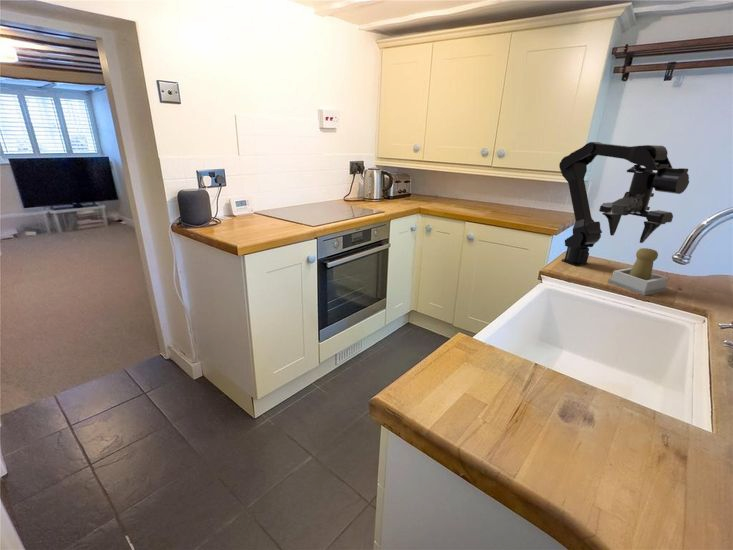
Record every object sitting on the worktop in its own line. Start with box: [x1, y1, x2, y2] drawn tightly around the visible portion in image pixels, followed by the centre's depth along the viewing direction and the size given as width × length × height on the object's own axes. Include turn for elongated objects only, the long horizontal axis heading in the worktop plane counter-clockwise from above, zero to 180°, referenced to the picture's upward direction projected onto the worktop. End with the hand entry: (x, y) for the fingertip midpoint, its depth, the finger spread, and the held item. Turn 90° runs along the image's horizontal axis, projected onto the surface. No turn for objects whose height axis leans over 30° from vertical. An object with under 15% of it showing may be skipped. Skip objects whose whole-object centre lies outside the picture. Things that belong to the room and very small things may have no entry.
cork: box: [629, 247, 659, 280], centre depth 108 cm, size 6×6×11 cm
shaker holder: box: [607, 267, 669, 296], centre depth 110 cm, size 11×11×4 cm
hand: (626, 238), depth 113 cm, fingers open, 9 cm apart
